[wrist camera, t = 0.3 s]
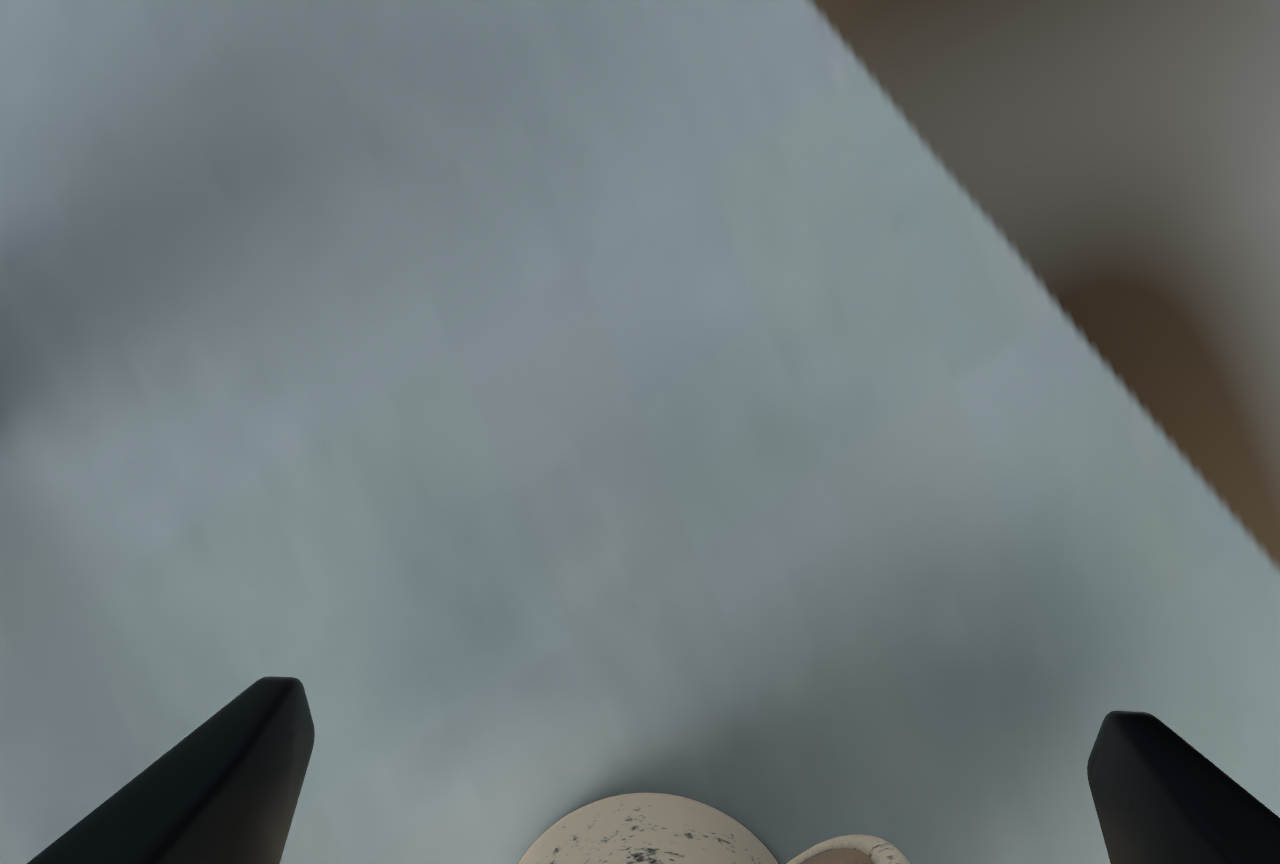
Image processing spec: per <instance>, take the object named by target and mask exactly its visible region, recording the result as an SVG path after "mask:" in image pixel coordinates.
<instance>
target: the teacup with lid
mask: <svg viewBox="0 0 1280 864" xmlns="http://www.w3.org/2000/svg"><path fill="white" fill-rule="evenodd" d="M518 864H778V862H777V861H776V859H775V858H774V856H773V855H772V854H771V853H770V852H769V850H768V849H767V848H766V847H765V846H764V845H763V843H762V842H761V841H760V840H759V839H758V838H756V837H755V836H754V835H753V834H752V833H751V832H750V831H749V830H748V829H746V828H745V827H744V826H743V825H741V824H740V823H739V822H737V821H736V820H734V819H733V818H731V817H730V816H728V815H727V814H725V813H723V812H721V811H719V810H717V809H715V808H713V807H711V806H709V805H706V804H704V803H701V802H699V801H696V800H692V799H689V798H685V797H681V796H676V795H671V794H663V793H631V794H622V795H617V796H613V797H608V798H605V799H602V800H598V801H595V802H592V803H590V804H588V805H585V806H583V807H581V808H579V809H577V810H575V811H573V812H572V813H570V814H568V815H566V816H565V817H563V818H562V819H560V820H559V821H558V822H556V823H555V824H553V825H552V826H551V827H550V828H549V829H547V830H546V831H545V832H544V833H543V834H542V835H541V836H540V837H539V838H538V839H537V840H536V841H535V842H534V843H533V844H532V845H531V846H530V848H529V849H528V850H527V852H526V853H525V854H524V855H523V857H522V858H521V859H520V861H519V862H518ZM786 864H911V863H910V862H909V861H908V859H907V858H906V857H905V856H904V855H903V854H902V853H901V852H900V851H899V849H897V848H896V847H895V846H893V845H892V844H891V843H889V842H887V841H885V840H883V839H881V838H878V837H875V836H870V835H861V834H854V835H845V836H839V837H835V838H832V839H829V840H826V841H824V842H821V843H819V844H817V845H815V846H813V847H811V848H809V849H808V850H806V851H804V852H803V853H801V854H799V855H798V856H796V857H795V858H793V859H792V860H790V861H789V862H787V863H786Z"/></svg>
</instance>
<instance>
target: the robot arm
mask: <svg viewBox="0 0 1280 864" xmlns="http://www.w3.org/2000/svg"><path fill="white" fill-rule="evenodd" d="M314 735H315V733H314V724H313V721H312V717H311V713H310V709H309V705H308V702H307V698H306V694H305V690H304V687H303V684H302V683H301V681H300V680H299V679H297V678H292V677H264V678H262V679H260V680H258V681H256V682H255V683H254V684H252V685H251V686H250V687H249V688H247V689H246V690H245V691H244V692H242V693H241V694H240V695H239V696H237V697H236V698H235V699H234V700H232V701H231V702H230V703H228V704H227V705H226V706H225V707H223V708H222V709H221V710H220V711H218V712H217V713H216V714H215V715H213V716H212V717H211V718H210V719H208V720H207V721H206V722H205V723H203V724H202V725H201V726H200V727H198V728H197V729H196V730H194V731H193V732H192V733H191V734H189V735H188V736H187V737H186V738H184V739H183V740H182V741H181V742H179V743H178V744H177V745H176V746H174V747H173V748H172V749H171V750H169V751H168V752H167V753H166V754H164V755H163V756H162V757H160V758H159V759H158V760H157V761H155V762H154V763H153V764H152V765H150V766H149V767H148V768H147V769H145V770H144V771H143V772H142V773H140V774H139V775H138V776H137V777H135V778H134V779H133V780H132V781H130V782H129V783H128V784H127V785H125V786H124V787H123V788H121V789H120V790H119V791H118V792H116V793H115V794H114V795H113V796H111V797H110V798H109V799H108V800H106V801H105V802H104V803H103V804H101V805H100V806H99V807H98V808H96V809H95V810H94V811H93V812H91V813H90V814H89V815H87V816H86V817H85V818H84V819H82V820H81V821H80V822H79V823H77V824H76V825H75V826H74V827H72V828H71V829H70V830H69V831H67V832H66V833H65V834H64V835H62V836H61V837H60V838H59V839H57V840H56V841H55V842H53V843H52V844H51V845H50V846H48V847H47V848H46V849H45V850H43V851H42V852H41V853H40V854H38V855H37V856H36V857H35V858H33V859H32V860H31V861H30V862H28V863H27V864H279V863H280V860H281V857H282V853H283V850H284V846H285V843H286V840H287V836H288V833H289V829H290V826H291V822H292V819H293V815H294V812H295V808H296V805H297V801H298V798H299V794H300V791H301V788H302V784H303V781H304V777H305V774H306V770H307V767H308V763H309V760H310V756H311V753H312V749H313V744H314ZM1087 774H1088V781H1089V786H1090V789H1091V793H1092V796H1093V800H1094V804H1095V807H1096V811H1097V815H1098V818H1099V822H1100V826H1101V829H1102V833H1103V837H1104V840H1105V844H1106V848H1107V851H1108V855H1109V859H1110V862H1111V864H1280V818H1279V817H1278V816H1277V815H1275V814H1274V813H1273V812H1272V811H1271V810H1269V809H1268V808H1267V807H1266V806H1264V805H1263V804H1262V803H1261V802H1259V801H1258V800H1257V799H1256V798H1255V797H1253V796H1252V795H1251V794H1250V793H1248V792H1247V791H1246V790H1245V789H1244V788H1242V787H1241V786H1240V785H1239V784H1237V783H1236V782H1235V781H1234V780H1232V779H1231V778H1230V777H1229V776H1228V775H1226V774H1225V773H1224V772H1223V771H1221V770H1220V769H1219V768H1218V767H1216V766H1215V765H1214V764H1213V763H1212V762H1210V761H1209V760H1208V759H1207V758H1205V757H1204V756H1203V755H1202V754H1201V753H1199V752H1198V751H1197V750H1196V749H1194V748H1193V747H1192V746H1191V745H1189V744H1188V743H1187V742H1186V741H1185V740H1183V739H1182V738H1181V737H1180V736H1178V735H1177V734H1176V733H1175V732H1174V731H1172V730H1171V729H1170V728H1169V727H1167V726H1166V725H1165V724H1164V723H1162V722H1161V721H1160V720H1159V719H1157V718H1156V717H1155V716H1153V715H1151V714H1149V713H1146V712H1132V711H1112V712H1110V713H1109V714H1108V715H1106V717H1105V719H1104V720H1103V723H1102V726H1101V728H1100V731H1099V733H1098V736H1097V739H1096V741H1095V744H1094V746H1093V749H1092V751H1091V754H1090V757H1089V760H1088V766H1087Z"/></svg>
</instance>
